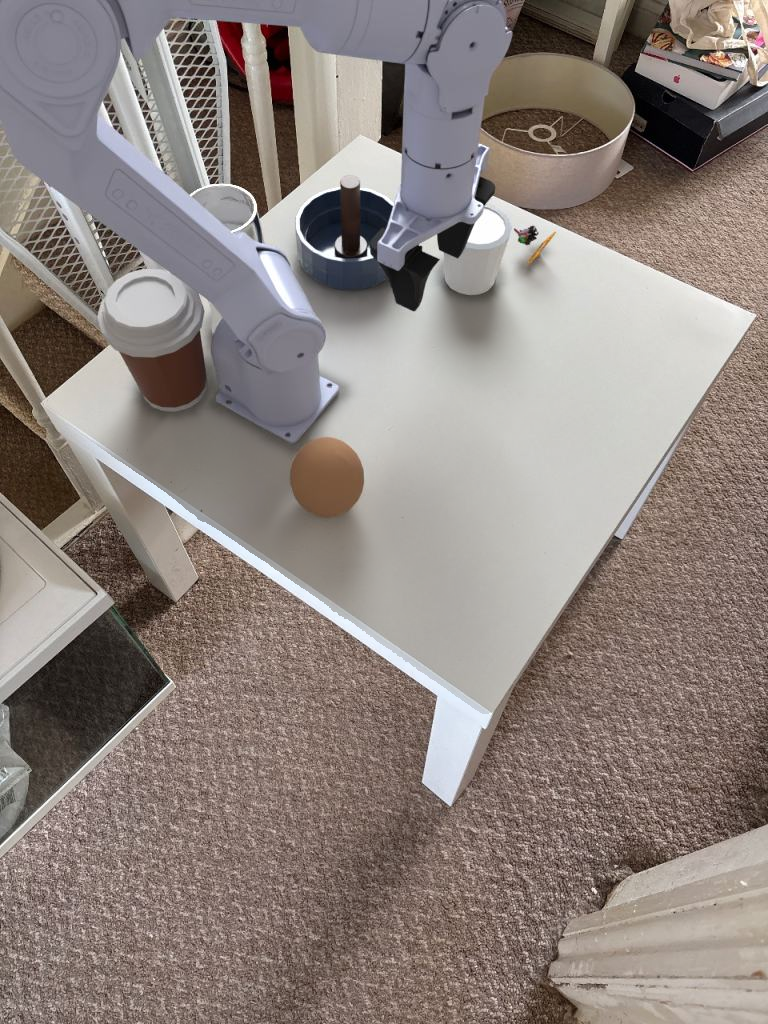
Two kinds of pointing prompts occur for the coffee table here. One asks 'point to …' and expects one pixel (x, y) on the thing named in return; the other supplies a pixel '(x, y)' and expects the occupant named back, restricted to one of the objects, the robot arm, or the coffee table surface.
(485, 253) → the white cylinder
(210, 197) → the beer glass
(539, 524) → the coffee table surface
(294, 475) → the egg
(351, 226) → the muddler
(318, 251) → the bowl
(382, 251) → the robot arm
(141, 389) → the coffee cup
